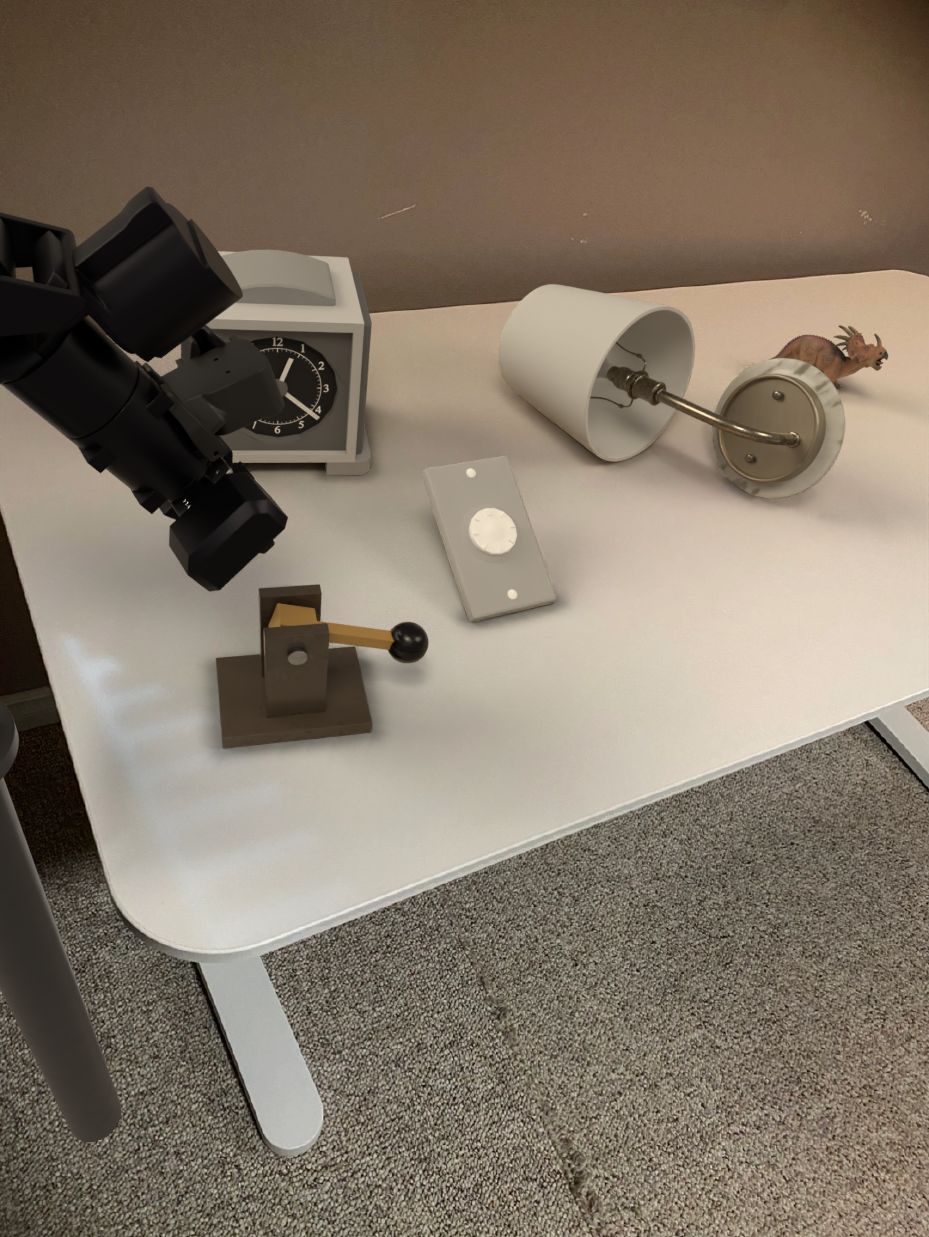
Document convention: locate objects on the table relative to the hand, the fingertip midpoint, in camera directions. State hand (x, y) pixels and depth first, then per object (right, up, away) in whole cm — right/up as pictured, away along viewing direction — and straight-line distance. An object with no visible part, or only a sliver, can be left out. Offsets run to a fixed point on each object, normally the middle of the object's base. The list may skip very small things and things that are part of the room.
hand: (268, 546), depth 64 cm
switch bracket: (0, -11, +8) cm, 14 cm away
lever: (+5, -7, +6) cm, 10 cm away
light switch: (+15, 0, +22) cm, 27 cm away
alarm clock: (-6, +14, +32) cm, 36 cm away
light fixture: (+33, +13, +39) cm, 53 cm away
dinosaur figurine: (+58, +25, +56) cm, 84 cm away
